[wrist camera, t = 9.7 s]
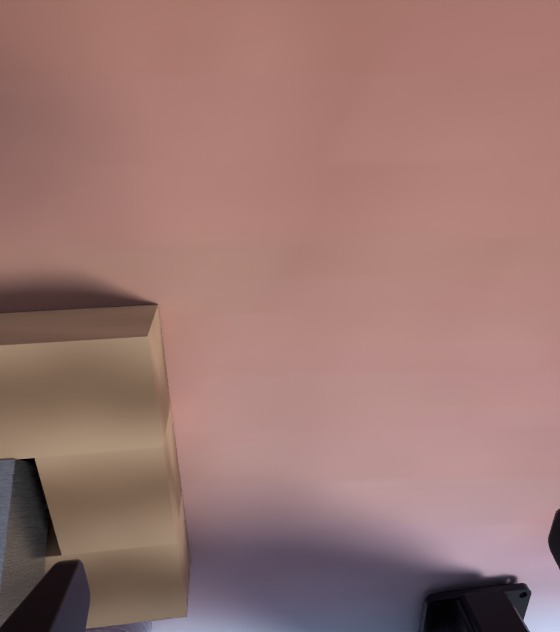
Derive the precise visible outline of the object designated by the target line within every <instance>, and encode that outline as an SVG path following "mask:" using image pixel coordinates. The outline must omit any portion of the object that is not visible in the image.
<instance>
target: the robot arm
mask: <svg viewBox="0 0 560 632" xmlns="http://www.w3.org/2000/svg"><path fill="white" fill-rule="evenodd" d="M548 543H549V548H550V551H551V553H552V555H553V557H554V559H555V561H556V563H557V565H558V567H559V569H560V509H558V510H557V511H556V513H555V516H554V520H553V523H552V526H551V530H550V533H549V537H548ZM530 596H531V591H530V590H529V588H528V586H527V585H526V584H524V583H518V584H510V585H502V586H494V587H485V588H477V589H469V590H461V591H452V592H444V593H436V594H431V595H429V596H427V597H426V598H425V600H424V606H423V612H422V618H421V625H420V631H419V632H530V631H529V630H528V628H527V626H526V625H525V623H524V621H523V620H524V616H525V613H526V609H527V606H528V603H529V599H530ZM89 606H90V588H89V584H88V580H87V576H86V573H85V569H84V565H83V562H82V561H81V560H80V559H73V560H63V561H58V562H57V563H55V564H54V565H53V566H52V567H51V568H50V569H49V571H48V572H47V573H46V574H45V575H44V576H43V578H42V579H41V580H40V581H39V582H38V583H37V584H36V586H35V587H34V588H33V589H32V590H31V591H30V593H29V594H28V595H27V596H26V597H25V598H24V600H23V601H22V602H21V603H20V604H19V605H18V607H17V608H16V609H15V610H14V611H13V612H12V613H11V615H10V616H9V617H8V618H7V619H6V620H5V622H4V623H3V624H2V625H1V626H0V632H85V631H86V625H87V619H88V613H89Z"/></svg>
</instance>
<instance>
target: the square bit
mask: <svg viewBox="0 0 560 632" xmlns="http://www.w3.org/2000/svg"><path fill="white" fill-rule="evenodd" d="M48 522H49V508H48V505H47V501H46V497H45V494H44V490H43V487H42V483H41V480H40V476H39V472H38V469H37V465H36V463H31V462H26V461H21V460H17V459H12V460H0V626H1V625H2V624H3V623H4V622H5V620H6V619H7V618H8V617H9V616H10V615H11V613H12V612H13V611H14V610H15V609H16V608H17V607H18V605H19V604H20V603H21V602H22V601H23V600H24V598H25V597H26V596H27V595H28V594H29V593H30V591H31V590H32V589H33V588H34V587H35V586H36V584H37V583H38V582H39V581H40V580H41V579H42V578H43V576H44V570H45V558H46V546H47V534H48Z"/></svg>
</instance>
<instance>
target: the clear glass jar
mask: <svg viewBox="0 0 560 632" xmlns="http://www.w3.org/2000/svg"><path fill="white" fill-rule="evenodd" d="M151 631H152V623H151V621H146V622H137V623H129V624H121V625H113V626H104V627H96V628H88V629H86V631H85V632H151Z"/></svg>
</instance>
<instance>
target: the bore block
mask: <svg viewBox="0 0 560 632" xmlns="http://www.w3.org/2000/svg"><path fill="white" fill-rule="evenodd" d="M28 458H35V462H36V465H37V469H38V472H39V476H40V480H41V483H42V487H43V490H44V494H45V497H46V501H47V505H48V508H49V522H48V534H47V546H46V558H45V570H44V575H45V574H46V573H47V572H48V571H49V569H50V568H51V567H52V566H53V565H54V564H55V563H57V562H58V561H63V560H73V559H80V560H81V561H82V562H83V565H84V569H85V573H86V576H87V580H88V584H89V588H90V606H89V613H88V619H87V625H86V629H88V628H96V627H104V626H113V625H121V624H129V623H137V622H146V621H154V620H162V619H171V618H179V617H187V606H188V592H189V577H190V562H191V561H190V553H189V545H188V537H187V529H186V522H185V514H184V506H183V498H182V490H181V482H180V474H179V466H178V458H177V450H176V443H175V435H174V427H173V419H172V411H171V403H170V395H169V387H168V379H167V371H166V364H165V356H164V348H163V340H162V332H161V324H160V316H159V308H158V305H141V306H123V307H104V308H86V309H68V310H49V311H31V312H13V313H0V460H12V459H28Z"/></svg>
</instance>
